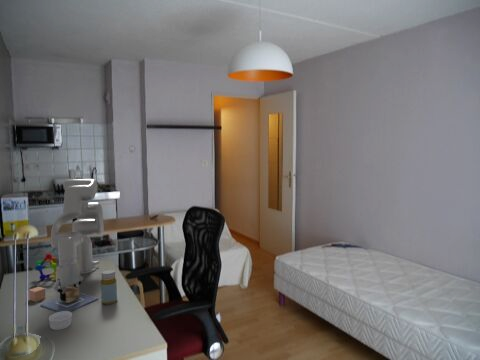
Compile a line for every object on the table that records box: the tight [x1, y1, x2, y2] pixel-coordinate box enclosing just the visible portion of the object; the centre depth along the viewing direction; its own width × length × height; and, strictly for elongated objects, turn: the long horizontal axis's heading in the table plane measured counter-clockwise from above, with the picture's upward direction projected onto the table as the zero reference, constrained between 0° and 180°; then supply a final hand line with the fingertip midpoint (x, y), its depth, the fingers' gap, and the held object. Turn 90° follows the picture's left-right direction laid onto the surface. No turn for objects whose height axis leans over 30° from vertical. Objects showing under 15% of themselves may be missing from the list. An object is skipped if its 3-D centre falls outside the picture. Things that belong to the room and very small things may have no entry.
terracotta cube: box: [28, 286, 46, 303], centre depth 177 cm, size 5×5×5 cm
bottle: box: [100, 269, 118, 305], centre depth 173 cm, size 7×7×15 cm
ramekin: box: [48, 311, 73, 331], centre depth 150 cm, size 9×9×4 cm
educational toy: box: [35, 253, 58, 281], centre depth 203 cm, size 16×13×15 cm
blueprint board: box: [40, 292, 99, 313], centre depth 173 cm, size 18×18×1 cm
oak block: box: [60, 285, 80, 303], centre depth 172 cm, size 6×6×5 cm
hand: (69, 297), depth 173 cm, fingers closed on oak block, 5 cm apart
